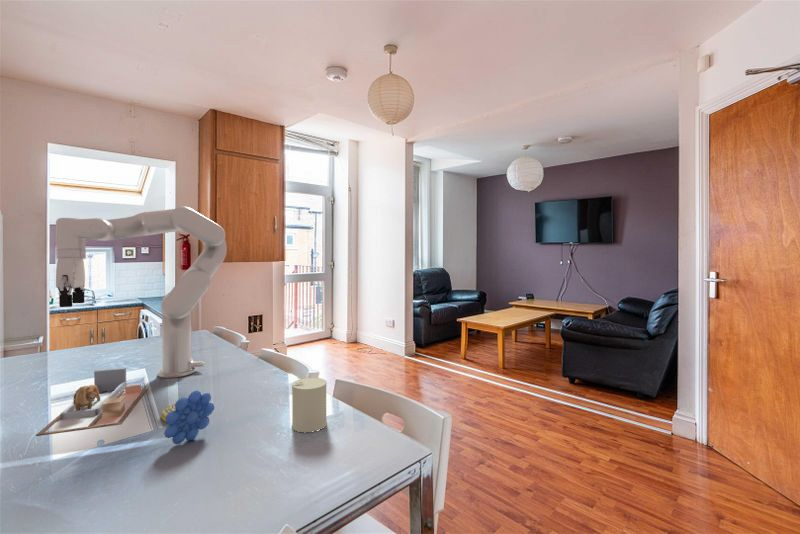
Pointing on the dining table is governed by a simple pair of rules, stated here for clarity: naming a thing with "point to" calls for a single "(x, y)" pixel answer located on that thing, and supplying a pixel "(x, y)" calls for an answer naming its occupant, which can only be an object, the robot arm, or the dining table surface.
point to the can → (309, 404)
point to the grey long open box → (104, 382)
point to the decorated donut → (167, 411)
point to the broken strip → (130, 396)
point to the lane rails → (94, 419)
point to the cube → (113, 407)
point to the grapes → (189, 417)
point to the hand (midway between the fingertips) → (72, 304)
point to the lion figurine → (85, 396)
